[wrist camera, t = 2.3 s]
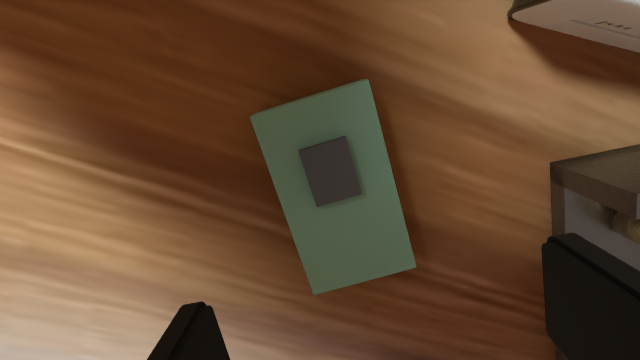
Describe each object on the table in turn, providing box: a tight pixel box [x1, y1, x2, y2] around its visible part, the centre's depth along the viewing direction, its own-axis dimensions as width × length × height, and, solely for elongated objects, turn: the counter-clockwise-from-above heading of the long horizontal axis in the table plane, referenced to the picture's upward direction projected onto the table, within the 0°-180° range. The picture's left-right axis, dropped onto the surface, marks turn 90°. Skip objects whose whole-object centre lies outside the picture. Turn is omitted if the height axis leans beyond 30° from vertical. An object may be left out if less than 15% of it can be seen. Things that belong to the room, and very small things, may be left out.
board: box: [250, 79, 417, 295], centre depth 19 cm, size 10×6×4 cm, turn 17°
